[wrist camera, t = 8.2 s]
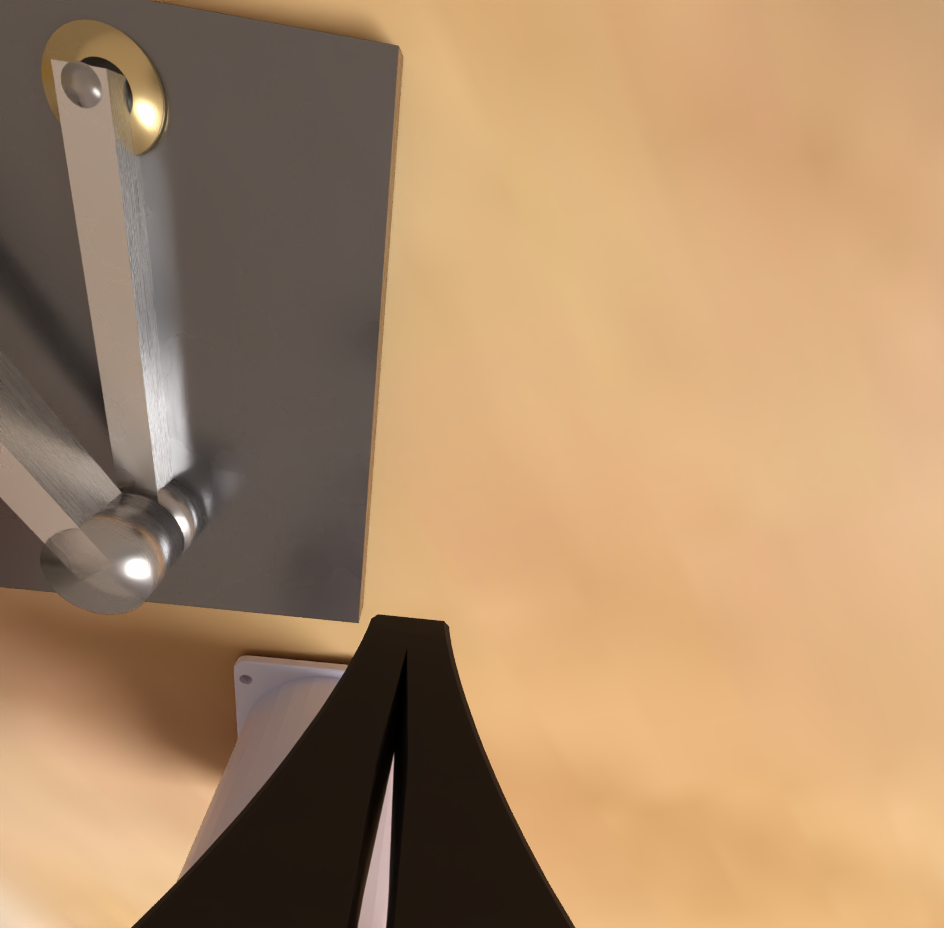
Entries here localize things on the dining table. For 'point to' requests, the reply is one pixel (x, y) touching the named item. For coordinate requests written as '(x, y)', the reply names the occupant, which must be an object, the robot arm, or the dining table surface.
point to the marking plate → (203, 281)
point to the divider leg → (79, 508)
